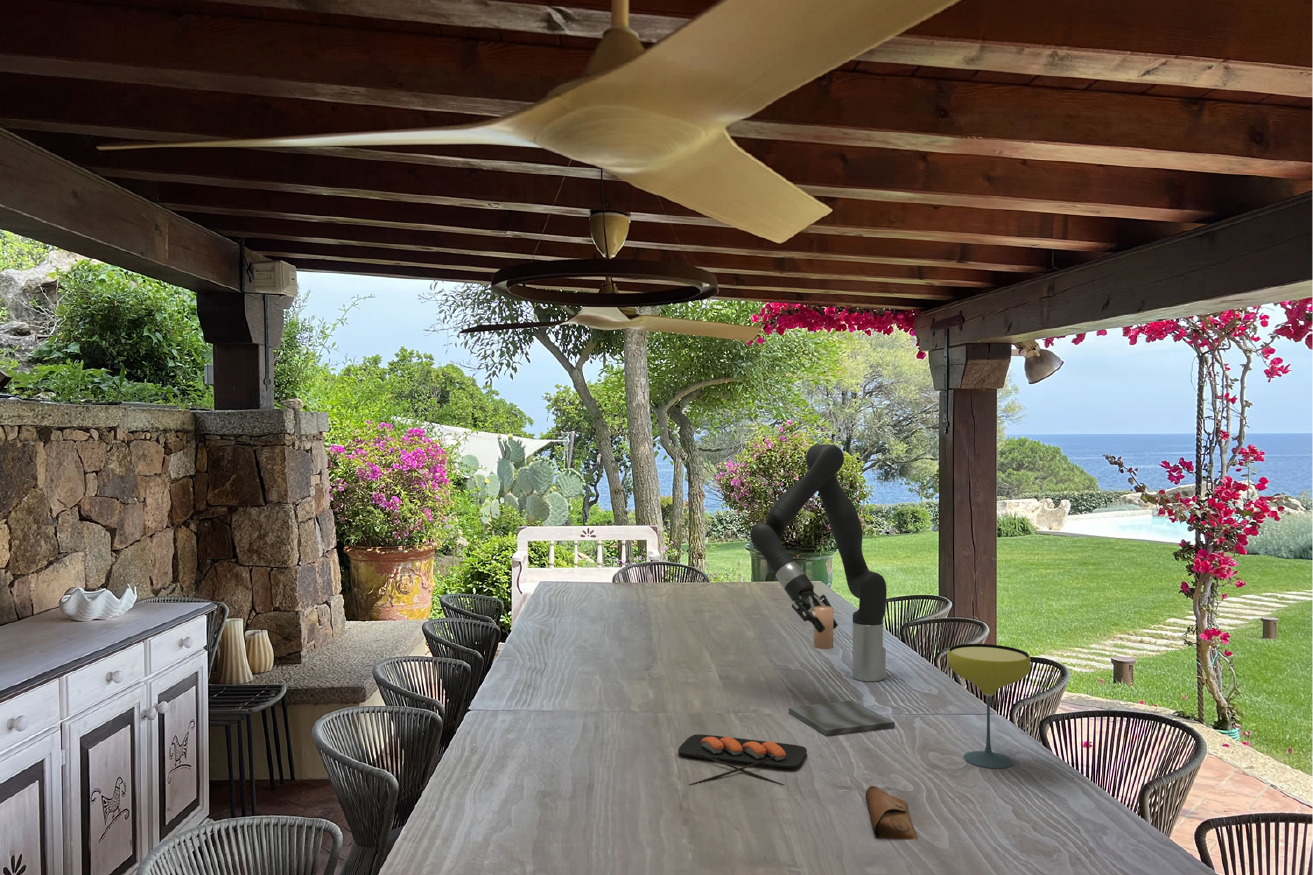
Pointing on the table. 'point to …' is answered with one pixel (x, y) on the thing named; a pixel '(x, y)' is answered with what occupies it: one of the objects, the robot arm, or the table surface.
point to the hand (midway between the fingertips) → (828, 628)
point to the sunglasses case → (889, 815)
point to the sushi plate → (743, 753)
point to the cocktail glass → (988, 684)
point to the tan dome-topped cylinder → (826, 618)
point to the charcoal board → (841, 718)
